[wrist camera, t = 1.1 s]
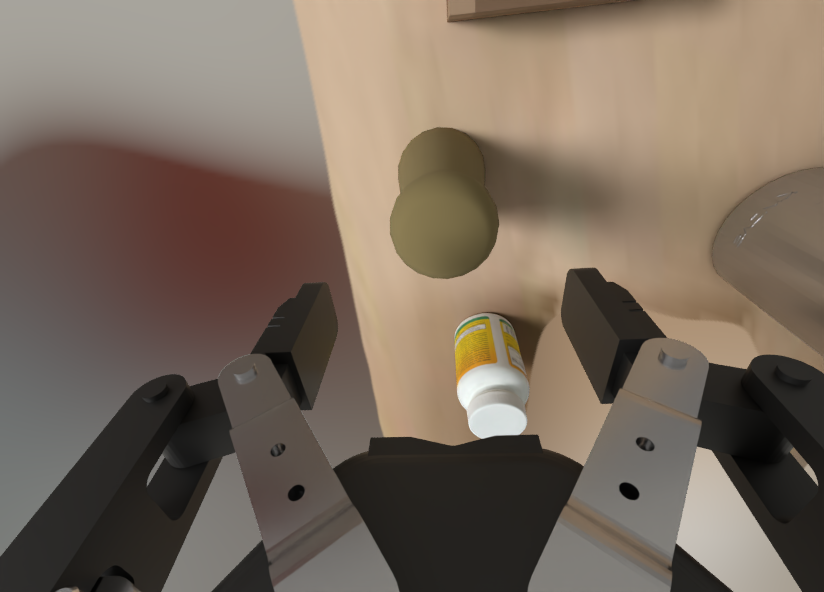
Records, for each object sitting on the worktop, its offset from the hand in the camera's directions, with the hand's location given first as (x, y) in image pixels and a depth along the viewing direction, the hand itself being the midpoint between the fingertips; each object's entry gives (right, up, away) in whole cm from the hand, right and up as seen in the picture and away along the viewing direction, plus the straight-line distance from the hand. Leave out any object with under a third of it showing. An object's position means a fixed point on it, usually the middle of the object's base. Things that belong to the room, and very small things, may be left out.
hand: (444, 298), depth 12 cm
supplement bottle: (+5, -3, +21) cm, 22 cm away
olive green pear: (+1, +9, +13) cm, 16 cm away
